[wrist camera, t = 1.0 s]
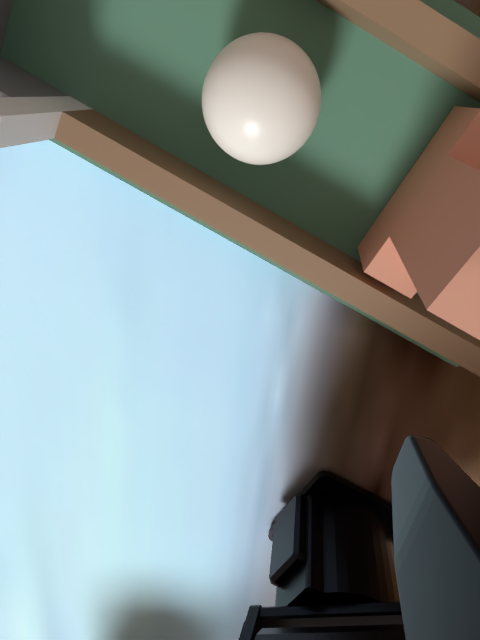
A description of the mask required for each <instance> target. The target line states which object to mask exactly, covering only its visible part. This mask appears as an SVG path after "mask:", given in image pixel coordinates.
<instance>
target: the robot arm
mask: <svg viewBox="0 0 480 640" xmlns="http://www.w3.org/2000/svg"><path fill="white" fill-rule="evenodd" d="M324 479H326V480H328V481H324ZM391 487H392V504H391V503H389V502H387V501H385V500H383V499H381V498H379V497H377V496H375V495H373V494H372V493H370V492H368V491H366V490H364V489H362V488H360V487H358V486H356V485H354V484H352V483H350V482H348V481H347V480H345V479H343V478H341V477H339V476H337V475H335V474H333V473H331V472H329V471H321V472H319V473H318V474H317V475H316V476H315V477H314V478H313V480H312V481H311V482H310V483H309V484H308V485H307V486H306V488H305V489H304V490H303V491H302V492H301V493H299V494H297V495H295V496H294V497H293V498H292V500H291V501H290V502H289V503H288V504H287V505H286V506H285V508H284V509H283V510H282V511H281V512H280V513H279V514H278V516H277V517H276V518H275V523H274V524H273V525H272V526H271V527H270V529H269V535H268V536H269V539H270V540H271V541H273V544H272V555H271V565H270V575H269V578H270V582H271V584H273V585H275V586H277V588H276V600H275V607H262V606H261V605H253V606H250V607H249V611H248V614H247V617H246V620H245V622H244V624H243V628H242V631H241V634H240V638H239V640H480V487H479V486H478V485H477V484H476V483H475V482H474V481H473V480H472V479H471V478H470V477H469V476H468V475H467V474H466V473H465V472H464V471H463V470H462V469H461V468H460V467H459V466H458V465H457V464H456V463H455V462H454V461H453V460H452V459H451V458H450V457H449V456H448V455H447V454H446V453H445V452H444V451H443V450H442V449H441V448H440V447H439V446H438V445H437V444H436V443H435V442H434V441H433V440H431V439H428V438H424V437H419V436H414V435H410V436H407V438H406V439H405V441H404V443H403V445H402V448H401V450H400V453H399V455H398V458H397V460H396V462H395V465H394V467H393V471H392V477H391Z"/></svg>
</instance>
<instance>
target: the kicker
mask: <svg viewBox="0 0 480 640" xmlns="http://www.w3.org/2000/svg"><path fill="white" fill-rule="evenodd" d="M357 248H358V252H359V255H360V259H361V263H362V267H363V271H364V272H365V273H367V274H368V275H370V276H372V277H374V278H375V279H377V280H379V281H381V282H382V283H384V284H386V285H388V286H389V287H391V288H393V289H395V290H396V291H398V292H400V293H402V294H403V295H405V296H407V297H409V298H410V299H411V298H412V297H413V296H414V295H415V293H416V292H418V294H419V296H420V298H421V300H422V302H423V304H424V306H425V308H426V310H428V311H429V312H431V313H433V314H435V315H436V316H438V317H440V318H442V319H443V320H445V321H447V322H449V323H450V324H452V325H454V326H456V327H458V328H459V329H461V330H463V331H465V332H466V333H468V334H470V335H472V336H473V337H475V338H477V339H479V340H480V108H469V107H459V106H454V108H453V109H452V110H451V112H450V113H449V115H448V116H447V118H446V119H445V121H444V122H443V124H442V125H441V126H440V128H439V129H438V131H437V132H436V134H435V135H434V137H433V138H432V139H431V141H430V142H429V144H428V145H427V147H426V148H425V150H424V151H423V152H422V154H421V155H420V157H419V158H418V160H417V161H416V163H415V164H414V166H413V167H412V168H411V170H410V171H409V173H408V174H407V176H406V177H405V179H404V180H403V181H402V183H401V184H400V186H399V187H398V189H397V190H396V192H395V193H394V195H393V196H392V197H391V199H390V200H389V202H388V203H387V205H386V206H385V208H384V209H383V210H382V212H381V213H380V215H379V216H378V218H377V219H376V221H375V222H374V224H373V225H372V226H371V228H370V229H369V231H368V232H367V234H366V235H365V237H364V238H363V239H362V241H361V242H360V244H359V245H358V247H357Z"/></svg>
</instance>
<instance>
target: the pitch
mask: <svg viewBox="0 0 480 640" xmlns="http://www.w3.org/2000/svg"><path fill="white" fill-rule="evenodd" d="M258 32H268V33H274V34H277V35H280V36H283V37H286V38H288V39H289V40H291V41H293V42H294V43H296V44H297V45H298V46H299V47H300V48H301V49H303V50H304V51H305V53H306V54H307V55H308V57H309V58H310V59H311V61H312V63H313V65H314V66H315V69H316V71H317V74H318V77H319V81H320V86H321V109H320V113H319V118H318V121H317V123H316V126H315V128H314V130H313V132H312V134H311V135H310V137H309V138H308V140H307V141H306V142H305V144H304V145H303V146H302V147H301V148H300V149H299V150H298V151H296V152H295V153H294V154H292V155H291V156H289V157H288V158H286V159H284V160H281V161H279V162H276V163H272V164H265V165H254V164H249V163H245V162H242V161H239V160H237V159H235V158H233V157H232V156H230V155H229V154H227V153H226V152H225V151H224V150H223V149H221V148H220V146H219V145H218V144H217V143H216V142H215V140H214V139H213V138H212V136H211V134H210V132H209V130H208V128H207V126H206V123H205V120H204V116H203V111H202V89H203V84H204V80H205V77H206V74H207V71H208V69H209V67H210V65H211V63H212V62H213V60H214V59H215V57H216V56H217V55H218V54H219V52H220V51H221V50H222V49H223V48H224V47H226V46H227V45H228V44H229V43H231V42H232V41H234V40H235V39H237V38H239V37H242V36H244V35H248V34H251V33H258ZM454 106H459V107H469V108H480V17H479V16H477V15H476V14H474V13H473V12H471V11H470V10H468V9H467V8H465V7H463V6H462V5H460V4H459V3H457V2H456V1H454V0H0V148H3V147H8V146H14V145H20V144H25V143H31V142H37V141H43V140H48V139H49V140H51V141H52V142H54V143H56V144H58V145H60V146H61V147H63V148H65V149H67V150H69V151H70V152H72V153H74V154H76V155H77V156H79V157H81V158H83V159H85V160H86V161H88V162H90V163H92V164H94V165H95V166H97V167H99V168H101V169H103V170H104V171H106V172H108V173H110V174H111V175H113V176H115V177H117V178H119V179H120V180H122V181H124V182H126V183H128V184H129V185H131V186H133V187H135V188H137V189H138V190H140V191H142V192H144V193H145V194H147V195H149V196H151V197H153V198H154V199H156V200H158V201H160V202H162V203H163V204H165V205H167V206H169V207H170V208H172V209H174V210H176V211H178V212H179V213H181V214H183V215H185V216H187V217H188V218H190V219H192V220H194V221H196V222H197V223H199V224H201V225H203V226H204V227H206V228H208V229H210V230H212V231H213V232H215V233H217V234H219V235H221V236H222V237H224V238H226V239H228V240H229V241H231V242H233V243H235V244H237V245H238V246H240V247H242V248H244V249H246V250H247V251H249V252H251V253H253V254H255V255H256V256H258V257H260V258H262V259H263V260H265V261H267V262H269V263H271V264H272V265H274V266H276V267H278V268H280V269H281V270H283V271H285V272H287V273H288V274H290V275H292V276H294V277H296V278H297V279H299V280H301V281H303V282H305V283H306V284H308V285H310V286H312V287H314V288H315V289H317V290H319V291H321V292H322V293H324V294H326V295H328V296H330V297H331V298H333V299H335V300H337V301H339V302H340V303H342V304H344V305H346V306H348V307H349V308H351V309H353V310H355V311H356V312H358V313H360V314H362V315H364V316H365V317H367V318H369V319H371V320H373V321H374V322H376V323H378V324H380V325H381V326H383V327H385V328H387V329H389V330H390V331H392V332H394V333H396V334H398V335H399V336H401V337H403V338H405V339H407V340H408V341H410V342H412V343H414V344H415V345H417V346H419V347H421V348H423V349H424V350H426V351H428V352H430V353H432V354H433V355H435V356H437V357H439V358H440V359H442V360H444V361H446V362H448V363H449V364H451V365H453V366H455V367H458V366H459V365H460V366H461V367H463V368H465V369H467V370H469V371H470V372H472V373H474V374H476V375H477V376H479V377H480V340H479V339H477V338H475V337H473V336H472V335H470V334H468V333H466V332H465V331H463V330H461V329H459V328H458V327H456V326H454V325H452V324H450V323H449V322H447V321H445V320H443V319H442V318H440V317H438V316H436V315H435V314H433V313H431V312H429V311H428V310H426V308H425V306H424V304H423V302H422V300H421V298H420V296H419V294H418V292H416V293H415V295H414V296H413V297H412V298H411V299H410V298H409V297H407V296H405V295H403V294H402V293H400V292H398V291H396V290H395V289H393V288H391V287H389V286H388V285H386V284H384V283H382V282H381V281H379V280H377V279H375V278H374V277H372V276H370V275H368V274H367V273H365V272H364V271H363V267H362V263H361V259H360V255H359V252H358V248H357V247H358V245H359V244H360V242H361V241H362V239H363V238H364V237H365V235H366V234H367V232H368V231H369V229H370V228H371V226H372V225H373V224H374V222H375V221H376V219H377V218H378V216H379V215H380V213H381V212H382V210H383V209H384V208H385V206H386V205H387V203H388V202H389V200H390V199H391V197H392V196H393V195H394V193H395V192H396V190H397V189H398V187H399V186H400V184H401V183H402V181H403V180H404V179H405V177H406V176H407V174H408V173H409V171H410V170H411V168H412V167H413V166H414V164H415V163H416V161H417V160H418V158H419V157H420V155H421V154H422V152H423V151H424V150H425V148H426V147H427V145H428V144H429V142H430V141H431V139H432V138H433V137H434V135H435V134H436V132H437V131H438V129H439V128H440V126H441V125H442V124H443V122H444V121H445V119H446V118H447V116H448V115H449V113H450V112H451V110H452V109H453V108H454Z"/></svg>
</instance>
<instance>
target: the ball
mask: <svg viewBox="0 0 480 640" xmlns="http://www.w3.org/2000/svg"><path fill="white" fill-rule="evenodd" d="M320 109H321V86H320V81H319V77H318V74H317V71H316V69H315V66H314V65H313V63H312V61H311V59H310V58H309V57H308V55H307V54H306V53H305V51H304V50H303V49H301V48H300V47H299V46H298V45H297V44H296V43H294V42H293V41H291V40H289V39H288V38H286V37H283V36H280V35H277V34H274V33H268V32H258V33H251V34H248V35H244V36H242V37H239V38H237V39H235V40H234V41H232V42H231V43H229V44H228V45H227V46H226V47H224V48H223V49H222V50H221V51H220V52H219V54H218V55H217V56H216V57H215V59H214V60H213V62H212V63H211V65H210V67H209V69H208V71H207V74H206V77H205V80H204V84H203V89H202V111H203V116H204V120H205V123H206V126H207V128H208V130H209V132H210V134H211V136H212V138H213V139H214V140H215V142H216V143H217V144H218V145H219V146H220V148H221V149H223V150H224V151H225V152H226V153H227V154H229V155H230V156H232V157H233V158H235V159H237V160H239V161H242V162H245V163H249V164H254V165H265V164H272V163H276V162H279V161H281V160H284V159H286V158H288V157H289V156H291V155H292V154H294V153H295V152H296V151H298V150H299V149H300V148H301V147H302V146H303V145H304V144H305V142H306V141H307V140H308V138H309V137H310V135H311V134H312V132H313V130H314V128H315V126H316V123H317V121H318V118H319V113H320Z"/></svg>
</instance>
